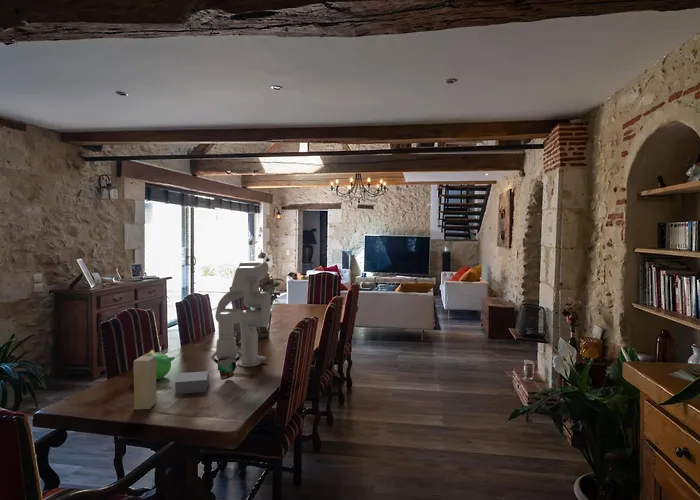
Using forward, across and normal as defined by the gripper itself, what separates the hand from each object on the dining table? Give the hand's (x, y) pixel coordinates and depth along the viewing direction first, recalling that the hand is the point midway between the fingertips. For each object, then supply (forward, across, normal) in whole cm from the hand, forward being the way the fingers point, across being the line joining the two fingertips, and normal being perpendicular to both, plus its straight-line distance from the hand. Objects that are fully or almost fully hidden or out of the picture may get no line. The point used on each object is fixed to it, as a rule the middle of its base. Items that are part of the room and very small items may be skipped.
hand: (226, 370), depth 220 cm
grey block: (+6, +16, +5) cm, 18 cm away
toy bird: (+6, +36, -14) cm, 40 cm away
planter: (+9, -6, -81) cm, 82 cm away
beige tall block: (+5, +36, +23) cm, 43 cm away
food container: (+3, -1, 0) cm, 3 cm away
